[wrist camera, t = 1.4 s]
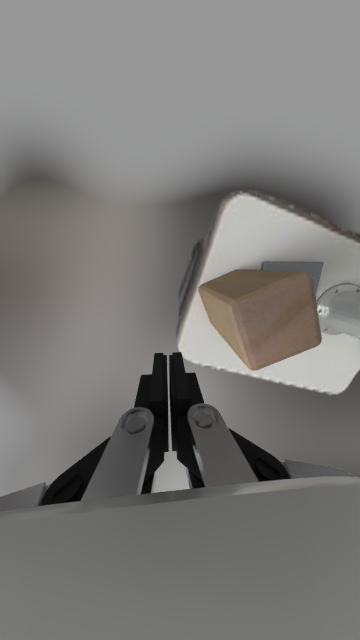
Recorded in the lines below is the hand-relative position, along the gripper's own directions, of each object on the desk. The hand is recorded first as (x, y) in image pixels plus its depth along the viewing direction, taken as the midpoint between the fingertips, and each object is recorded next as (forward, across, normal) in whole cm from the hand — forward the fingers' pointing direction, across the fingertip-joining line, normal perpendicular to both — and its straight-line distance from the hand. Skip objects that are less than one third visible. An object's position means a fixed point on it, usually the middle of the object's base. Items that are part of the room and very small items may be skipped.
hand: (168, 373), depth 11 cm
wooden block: (+28, -14, 0) cm, 31 cm away
